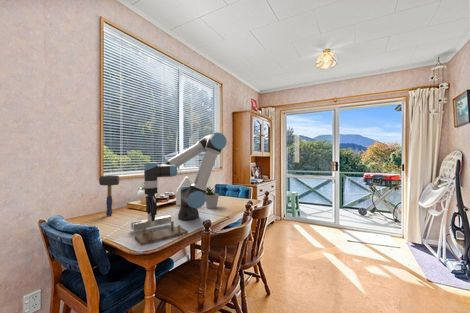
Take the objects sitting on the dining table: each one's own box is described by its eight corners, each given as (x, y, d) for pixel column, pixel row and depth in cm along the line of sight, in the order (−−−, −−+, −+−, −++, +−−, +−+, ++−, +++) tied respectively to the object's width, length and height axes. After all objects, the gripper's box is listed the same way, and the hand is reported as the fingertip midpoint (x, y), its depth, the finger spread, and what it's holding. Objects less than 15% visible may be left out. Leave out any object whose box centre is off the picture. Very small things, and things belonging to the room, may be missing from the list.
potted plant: (210, 205, 199) (211, 183, 199) (221, 207, 190) (222, 184, 190) (200, 207, 189) (200, 184, 189) (211, 210, 180) (211, 186, 180)
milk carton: (175, 205, 195) (176, 178, 195) (176, 202, 210) (176, 176, 210) (197, 204, 200) (197, 177, 200) (196, 201, 215) (196, 176, 215)
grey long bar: (168, 220, 144) (168, 214, 144) (171, 223, 139) (171, 216, 139) (131, 228, 129) (130, 222, 129) (133, 231, 125) (133, 224, 124)
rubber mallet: (119, 213, 166) (119, 174, 166) (117, 216, 159) (118, 175, 159) (100, 215, 162) (101, 175, 162) (98, 217, 155) (98, 176, 155)
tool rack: (179, 228, 135) (179, 219, 135) (187, 233, 126) (188, 224, 126) (134, 238, 118) (134, 228, 118) (141, 245, 109) (141, 234, 109)
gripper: (140, 186, 138) (140, 222, 138) (149, 189, 125) (150, 230, 125) (152, 185, 142) (152, 220, 143) (162, 188, 129) (162, 227, 130)
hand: (151, 224), depth 134 cm, fingers closed on grey long bar, 4 cm apart
